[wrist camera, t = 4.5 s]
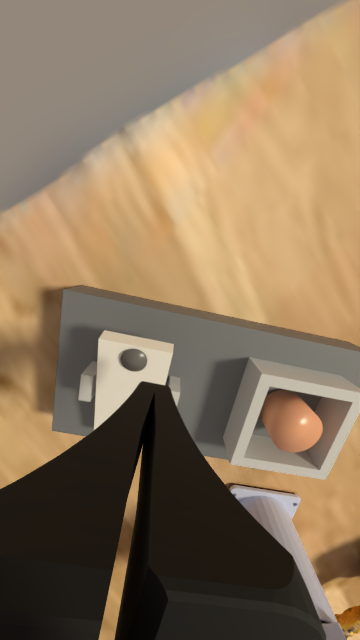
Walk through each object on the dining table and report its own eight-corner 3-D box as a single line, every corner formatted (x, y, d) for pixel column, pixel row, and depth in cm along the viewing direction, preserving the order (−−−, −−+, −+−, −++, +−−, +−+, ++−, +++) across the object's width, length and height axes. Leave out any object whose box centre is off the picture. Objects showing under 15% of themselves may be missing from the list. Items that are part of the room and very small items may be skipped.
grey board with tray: (301, 447, 22) (340, 505, 17) (69, 407, 21) (31, 457, 15) (348, 342, 19) (413, 371, 14) (81, 285, 18) (40, 294, 12)
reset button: (293, 430, 18) (311, 456, 15) (253, 423, 18) (264, 448, 15) (309, 394, 17) (330, 414, 15) (266, 386, 17) (281, 405, 14)
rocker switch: (152, 433, 17) (149, 447, 16) (98, 424, 17) (92, 438, 16) (173, 344, 13) (172, 354, 12) (104, 330, 13) (97, 339, 12)
